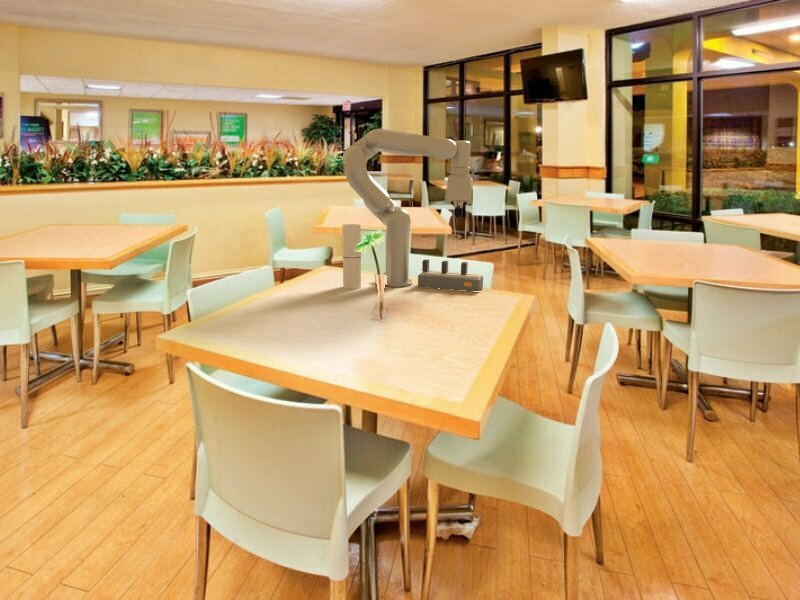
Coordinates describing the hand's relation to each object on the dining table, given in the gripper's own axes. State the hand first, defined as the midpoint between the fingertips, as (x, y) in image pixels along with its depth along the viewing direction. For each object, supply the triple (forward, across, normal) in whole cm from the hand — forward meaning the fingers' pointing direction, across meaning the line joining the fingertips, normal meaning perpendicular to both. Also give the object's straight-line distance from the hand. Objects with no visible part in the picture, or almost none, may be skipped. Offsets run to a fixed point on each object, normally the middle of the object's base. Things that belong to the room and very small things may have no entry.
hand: (458, 217), depth 226 cm
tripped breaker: (+21, +6, -13) cm, 25 cm away
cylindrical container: (+27, -37, -26) cm, 53 cm away
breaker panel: (+27, 0, -13) cm, 30 cm away
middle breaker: (+21, -2, -13) cm, 25 cm away
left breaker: (+21, -10, -13) cm, 26 cm away
